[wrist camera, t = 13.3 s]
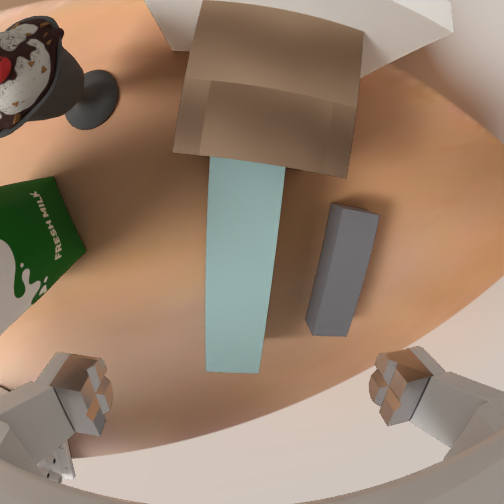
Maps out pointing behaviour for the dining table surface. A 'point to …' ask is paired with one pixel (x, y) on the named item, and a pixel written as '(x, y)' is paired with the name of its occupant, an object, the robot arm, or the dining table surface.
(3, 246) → the milk carton
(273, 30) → the block
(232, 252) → the peg
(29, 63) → the sundae
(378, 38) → the wall
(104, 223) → the dining table surface
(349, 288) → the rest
